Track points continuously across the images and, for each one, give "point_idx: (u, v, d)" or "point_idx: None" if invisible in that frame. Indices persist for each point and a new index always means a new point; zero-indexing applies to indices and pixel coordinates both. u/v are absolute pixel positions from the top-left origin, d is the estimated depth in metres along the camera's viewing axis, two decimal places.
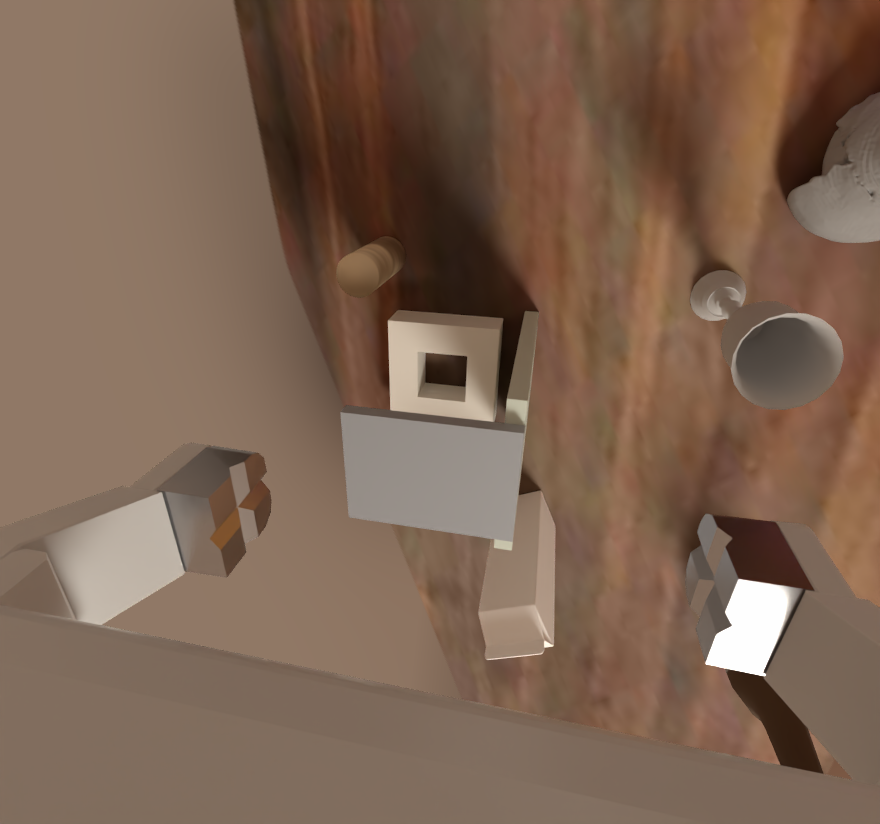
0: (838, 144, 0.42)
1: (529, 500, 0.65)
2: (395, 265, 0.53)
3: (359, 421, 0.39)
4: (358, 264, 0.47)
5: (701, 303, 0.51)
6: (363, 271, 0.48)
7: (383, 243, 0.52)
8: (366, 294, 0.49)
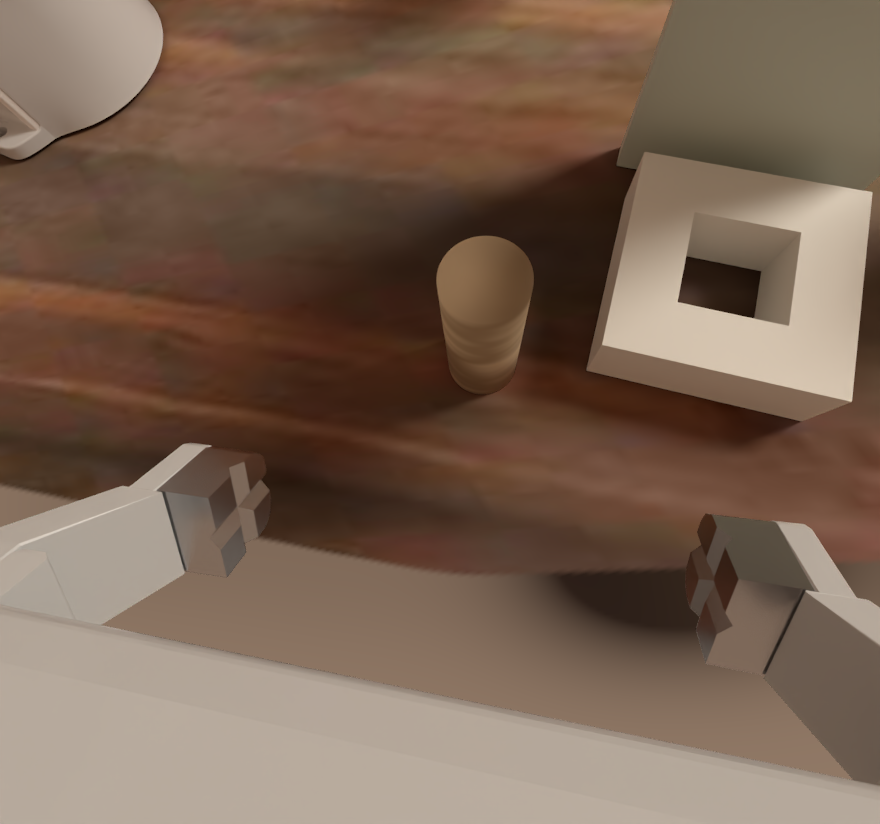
0: None
1: None
2: None
3: None
4: (461, 268, 0.22)
5: None
6: (477, 262, 0.22)
7: None
8: (528, 269, 0.21)
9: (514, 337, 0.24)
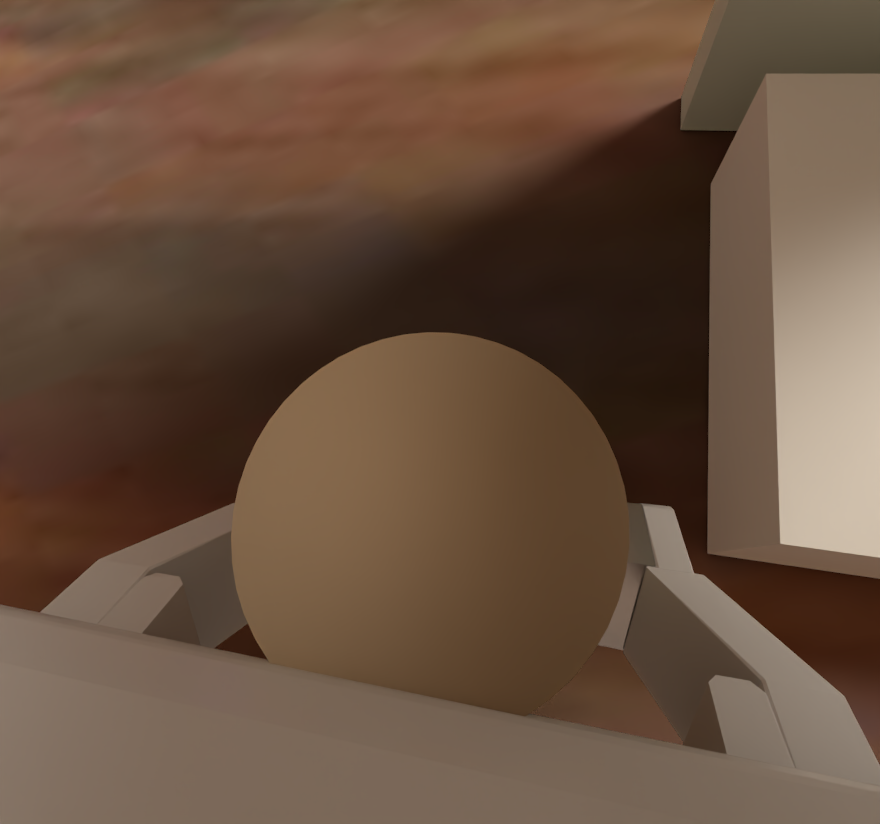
0: None
1: None
2: None
3: None
4: (324, 477, 0.05)
5: None
6: (388, 443, 0.05)
7: None
8: (595, 453, 0.05)
9: None
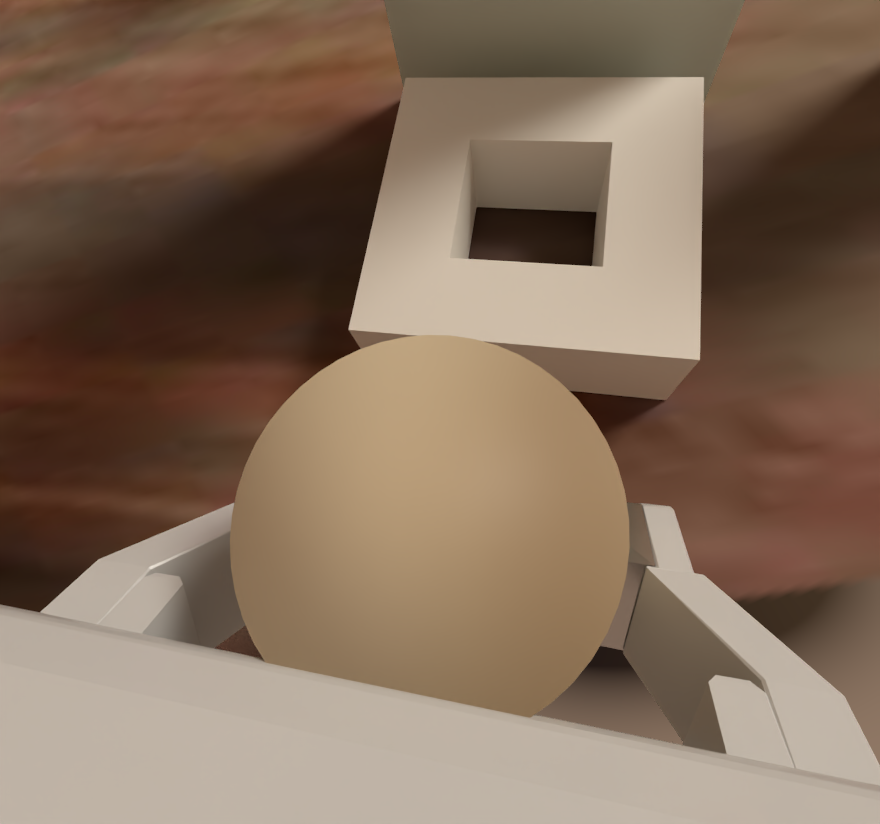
0: None
1: None
2: None
3: None
4: (323, 481, 0.05)
5: None
6: (387, 446, 0.05)
7: None
8: (594, 456, 0.05)
9: None
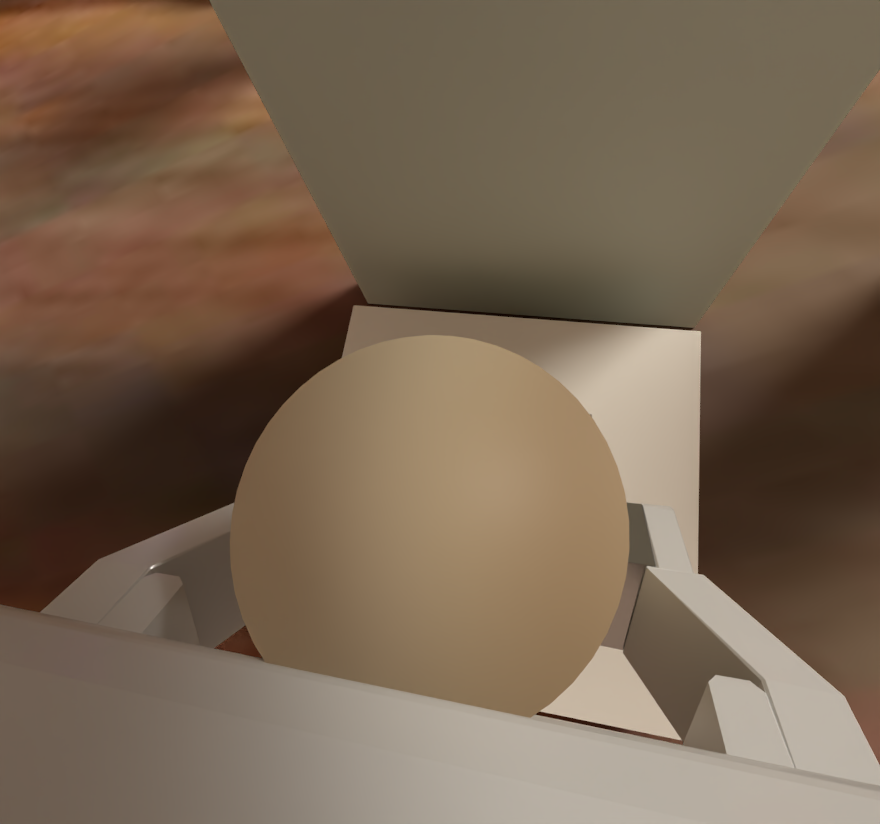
0: None
1: None
2: None
3: None
4: (323, 481, 0.05)
5: None
6: (387, 447, 0.05)
7: None
8: (594, 456, 0.05)
9: None
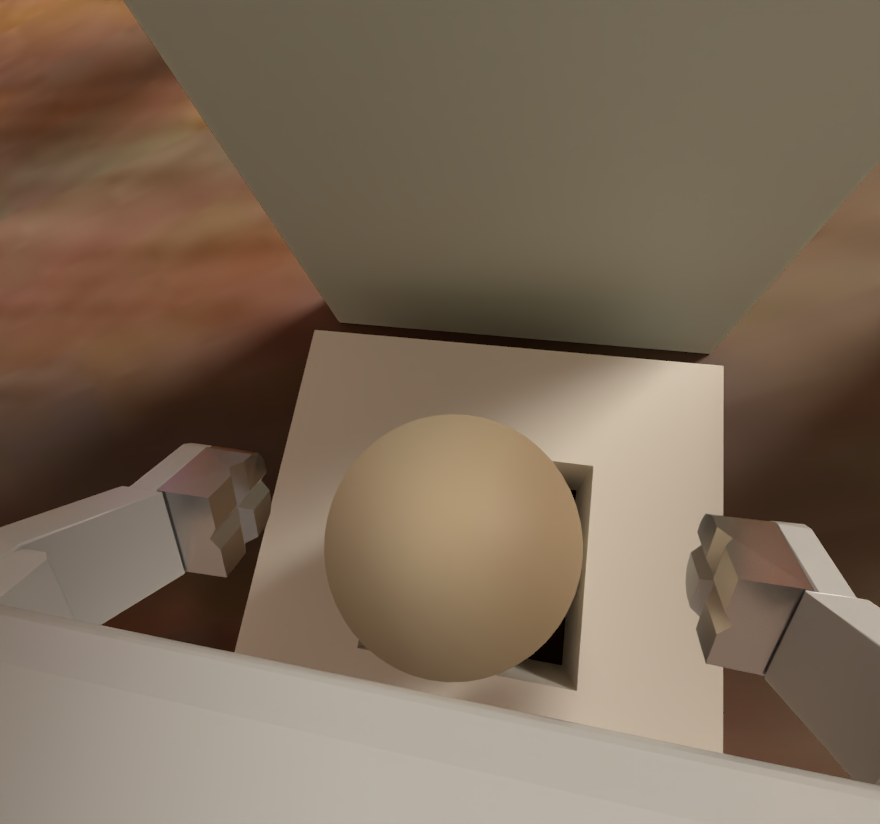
0: None
1: None
2: None
3: None
4: (385, 513, 0.08)
5: None
6: (426, 491, 0.08)
7: None
8: (562, 498, 0.08)
9: None
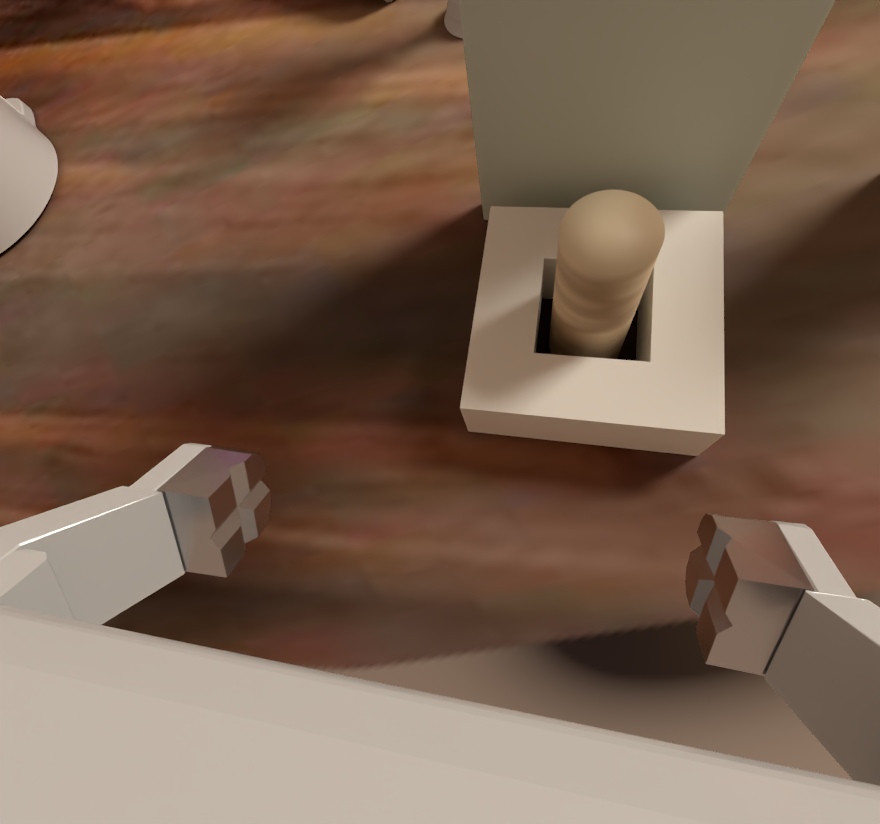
0: None
1: None
2: None
3: None
4: (583, 225, 0.21)
5: None
6: (600, 216, 0.21)
7: None
8: (655, 214, 0.20)
9: (640, 294, 0.22)
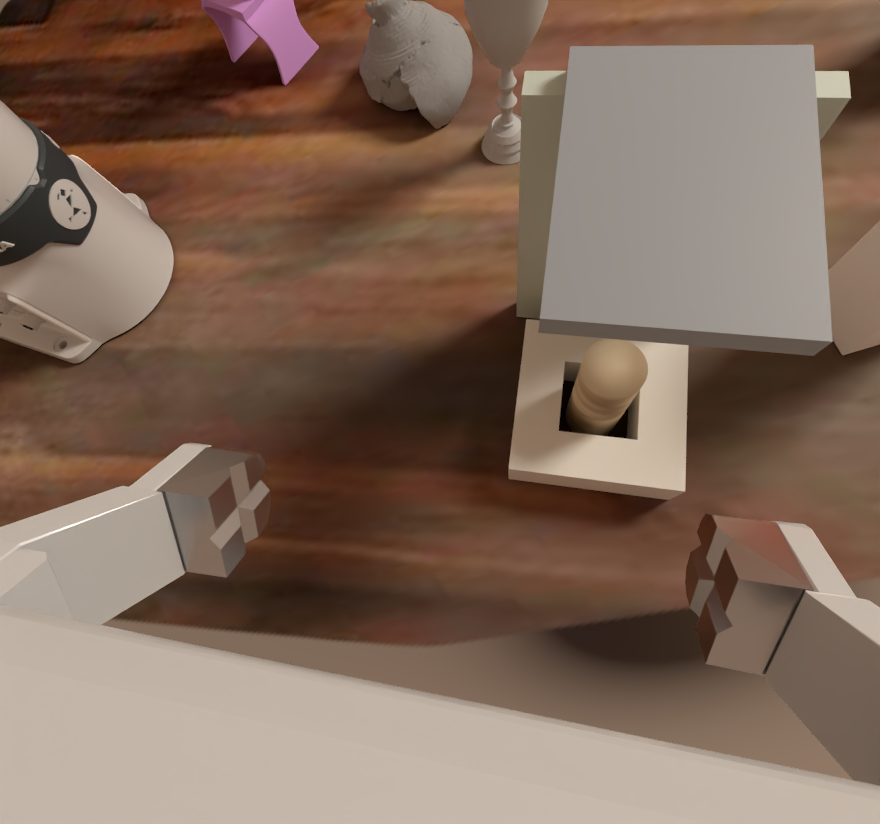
0: (390, 90, 0.51)
1: None
2: None
3: (559, 285, 0.20)
4: (596, 362, 0.33)
5: (509, 145, 0.49)
6: (607, 357, 0.33)
7: None
8: (642, 357, 0.32)
9: None
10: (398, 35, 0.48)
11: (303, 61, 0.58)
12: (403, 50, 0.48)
